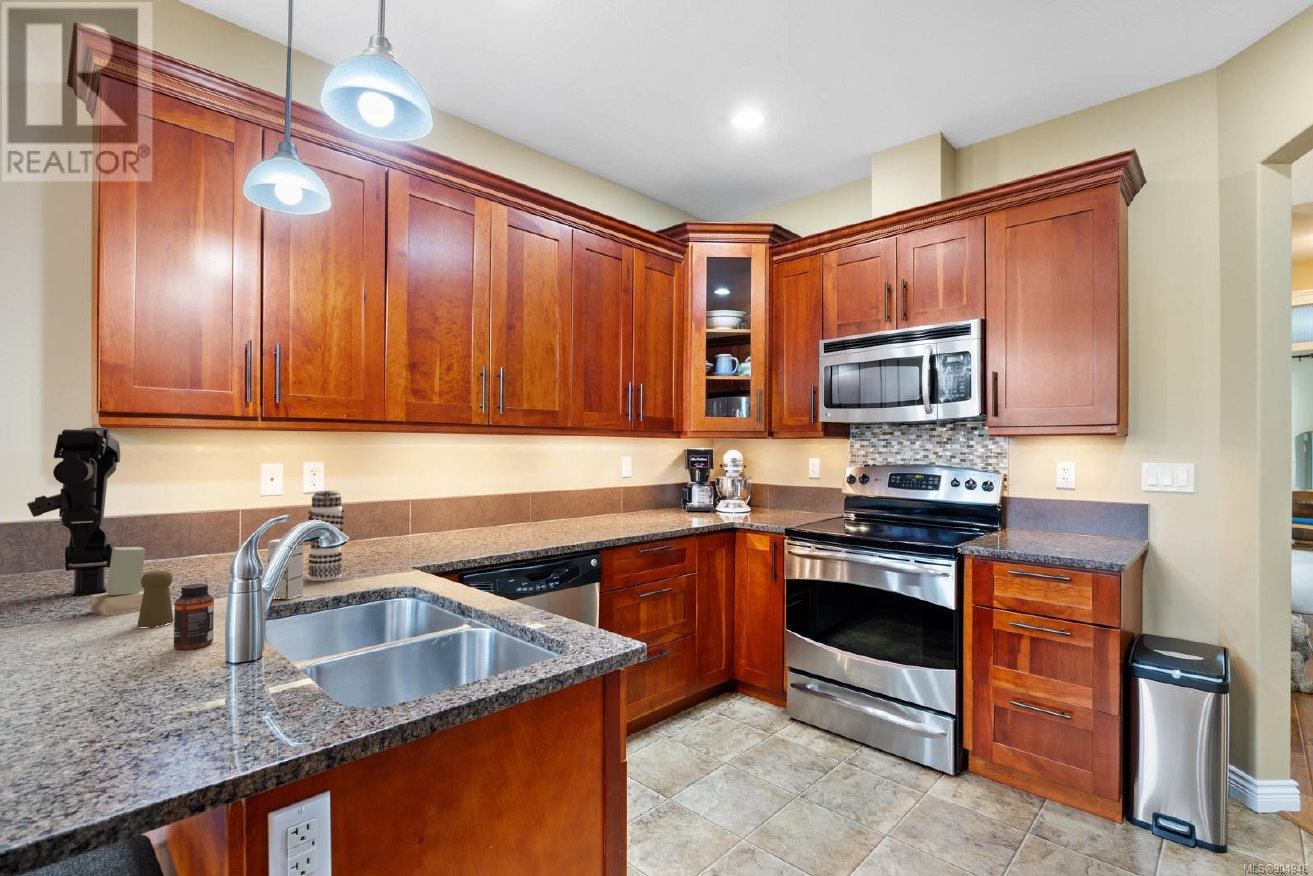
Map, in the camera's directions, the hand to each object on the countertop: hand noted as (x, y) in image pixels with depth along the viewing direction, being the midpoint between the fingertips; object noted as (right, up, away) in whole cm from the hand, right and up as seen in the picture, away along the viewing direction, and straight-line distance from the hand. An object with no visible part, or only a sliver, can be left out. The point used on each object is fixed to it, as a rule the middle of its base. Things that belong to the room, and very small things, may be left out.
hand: (77, 549), depth 143 cm
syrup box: (+43, -14, +9) cm, 46 cm away
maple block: (+13, -13, -4) cm, 19 cm away
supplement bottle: (+49, -13, -29) cm, 58 cm away
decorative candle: (+40, -14, +33) cm, 54 cm away
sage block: (+14, -9, -3) cm, 17 cm away
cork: (+30, -13, -15) cm, 36 cm away
